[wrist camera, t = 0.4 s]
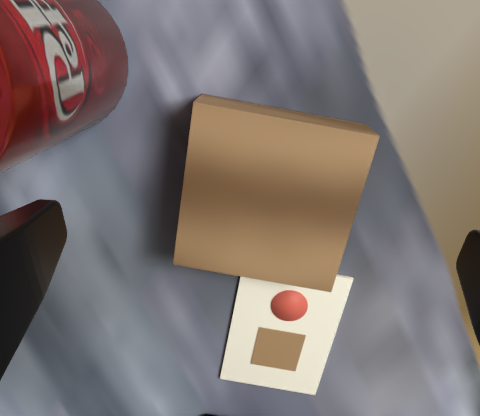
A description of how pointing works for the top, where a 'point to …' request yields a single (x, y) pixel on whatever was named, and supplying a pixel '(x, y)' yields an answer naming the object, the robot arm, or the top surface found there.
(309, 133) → the base brick
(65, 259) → the top surface
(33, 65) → the soda can
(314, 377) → the page
